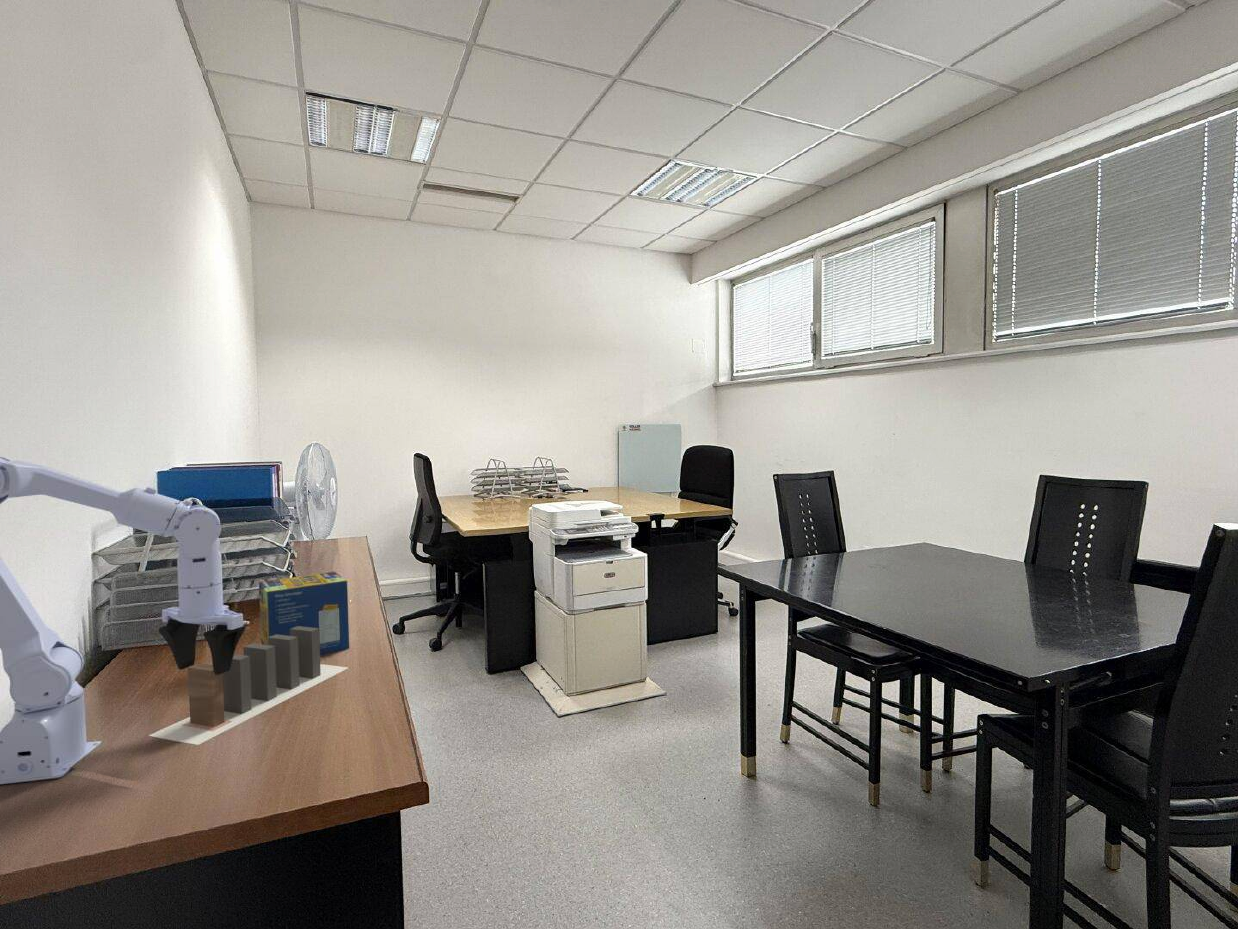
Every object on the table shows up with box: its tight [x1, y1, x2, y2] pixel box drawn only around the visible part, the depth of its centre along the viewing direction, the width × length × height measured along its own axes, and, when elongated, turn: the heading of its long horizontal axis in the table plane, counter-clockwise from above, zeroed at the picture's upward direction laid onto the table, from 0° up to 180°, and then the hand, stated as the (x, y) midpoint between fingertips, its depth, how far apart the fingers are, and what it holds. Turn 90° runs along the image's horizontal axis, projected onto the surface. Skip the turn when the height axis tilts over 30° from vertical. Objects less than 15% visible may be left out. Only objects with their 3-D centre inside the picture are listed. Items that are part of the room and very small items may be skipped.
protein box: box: [258, 571, 350, 656], centre depth 130 cm, size 10×15×16 cm
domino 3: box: [242, 642, 277, 701], centre depth 107 cm, size 2×5×9 cm, turn 72°
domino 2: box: [222, 653, 252, 714], centre depth 102 cm, size 2×5×9 cm, turn 73°
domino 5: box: [290, 626, 321, 679], centre depth 116 cm, size 2×5×9 cm, turn 73°
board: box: [148, 663, 349, 746], centre depth 107 cm, size 31×10×1 cm, turn 163°
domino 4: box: [268, 634, 300, 690], centre depth 111 cm, size 2×5×9 cm, turn 72°
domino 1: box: [187, 662, 225, 727], centre depth 97 cm, size 2×5×9 cm, turn 72°
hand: (204, 669), depth 97 cm, fingers open, 7 cm apart
